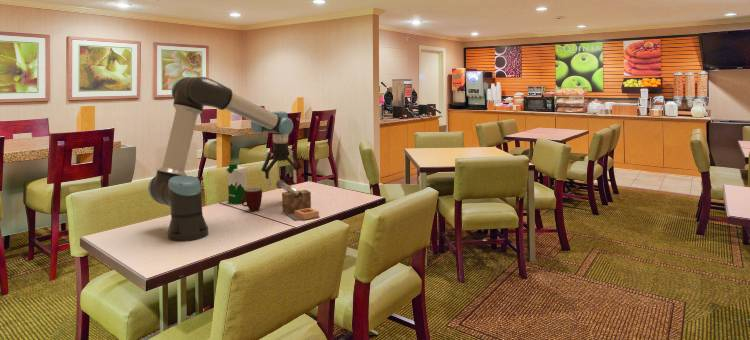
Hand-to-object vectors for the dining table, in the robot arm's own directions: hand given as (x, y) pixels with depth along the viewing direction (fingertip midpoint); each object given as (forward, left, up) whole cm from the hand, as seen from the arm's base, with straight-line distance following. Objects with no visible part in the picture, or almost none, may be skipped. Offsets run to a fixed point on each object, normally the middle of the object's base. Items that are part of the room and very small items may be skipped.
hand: (282, 183), depth 241 cm
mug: (-18, -8, -10) cm, 22 cm away
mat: (0, -30, -10) cm, 32 cm away
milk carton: (-20, +12, -10) cm, 25 cm away
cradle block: (0, -22, -10) cm, 24 cm away
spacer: (0, -28, -8) cm, 29 cm away
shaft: (0, -10, -3) cm, 10 cm away
